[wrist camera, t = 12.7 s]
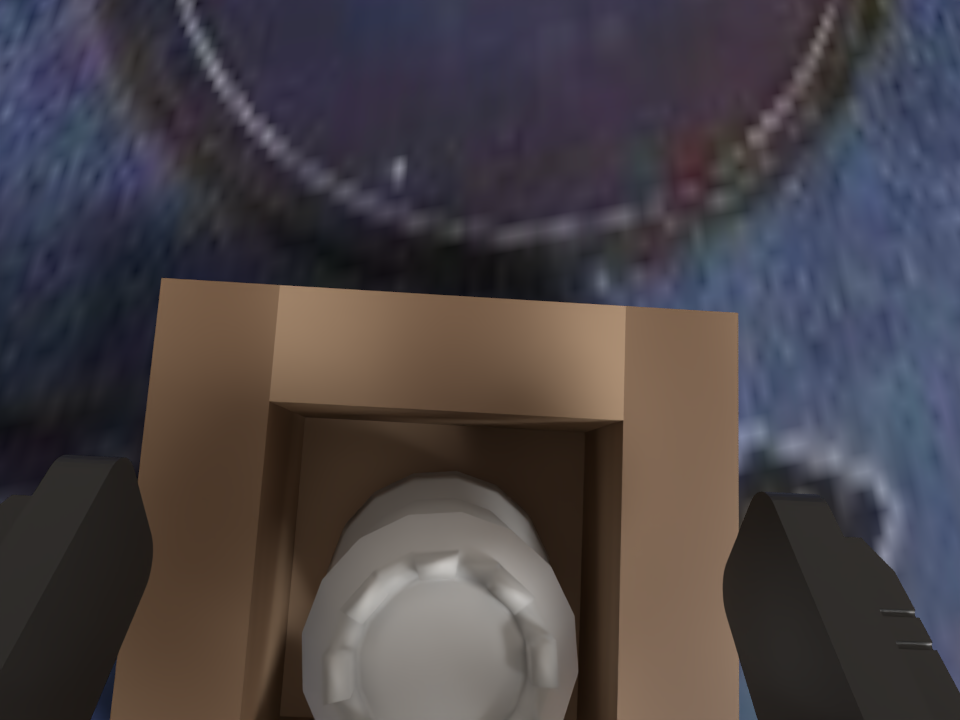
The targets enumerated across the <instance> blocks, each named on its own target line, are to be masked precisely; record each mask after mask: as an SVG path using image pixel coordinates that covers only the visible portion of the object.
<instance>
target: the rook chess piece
mask: <svg viewBox="0 0 960 720" xmlns="http://www.w3.org/2000/svg"><path fill="white" fill-rule="evenodd" d="M577 675H578V659H577V645H576V630H575V616H574V614H573V612H572V610H571V607H570V605H569V603H568V601H567V599H566V597H565V595H564V593H563V591H562V588H561V586H560V584H559V582H558V580H557V578H556V576H555V574H554V572H553V570H552V567H551V566H550V561H549V557H548V555H547V553H546V550H545V548H544V546H543V544H542V542H541V540H540V538H539V536H538V534H537V531H536V529H535V527H534V525H533V523H532V521H531V519H530V517H529V515H528V514H527V513H526V512H525V511H524V510H523V509H522V508H521V507H520V506H518V505H517V504H516V503H515V502H514V501H513V500H512V499H511V498H510V497H509V496H507V495H506V494H505V493H504V492H503V491H502V490H501V489H500V488H499V487H498V486H497V485H494V484H491V483H488V482H486V481H483V480H480V479H477V478H475V477H472V476H469V475H466V474H463V473H461V472H458V471H448V472H428V473H414V474H411V475H409V476H407V477H405V478H403V479H401V480H399V481H397V482H395V483H393V484H390V485H388V486H386V487H384V488H382V489H380V490H378V491H376V492H375V493H374V494H373V495H372V496H371V497H370V498H369V499H368V500H367V501H366V502H365V503H364V505H363V506H362V507H361V508H360V509H359V510H358V511H357V512H356V513H355V514H354V515H353V517H352V518H351V519H350V520H349V521H348V522H347V523H346V524H345V527H344V528H343V530H342V533H341V536H340V538H339V541H338V544H337V546H336V549H335V552H334V554H333V557H332V560H331V562H330V565H329V567H328V570H327V575H326V576H325V577H324V578H323V579H322V581H321V584H320V586H319V589H318V592H317V594H316V597H315V600H314V602H313V605H312V608H311V610H310V613H309V616H308V618H307V621H306V624H305V626H304V629H303V631H302V678H303V693H304V695H305V698H306V700H307V702H308V705H309V707H310V709H311V712H312V714H313V716H314V719H315V720H564V716H565V713H566V710H567V707H568V704H569V701H570V697H571V694H572V691H573V688H574V685H575V682H576V678H577Z"/></svg>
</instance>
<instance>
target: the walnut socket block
mask: <svg viewBox="0 0 960 720" xmlns="http://www.w3.org/2000/svg"><path fill="white" fill-rule="evenodd" d="M448 471H458V472H461V473H463V474H466V475H469V476H472V477H475V478H477V479H480V480H483V481H486V482H488V483H491V484H494V485H497V486H498V487H499V488H500V489H501V490H502V491H503V492H504V493H505V494H506V495H507V496H509V497H510V498H511V499H512V500H513V501H514V502H515V503H516V504H517V505H518V506H520V507H521V508H522V509H523V510H524V511H525V512H526V513H527V514H528V515H529V517H530V519H531V521H532V523H533V525H534V527H535V529H536V531H537V534H538V536H539V538H540V540H541V542H542V544H543V546H544V548H545V550H546V553H547V555H548V557H549V561H550V566H551V567H552V570H553V572H554V574H555V576H556V578H557V580H558V582H559V584H560V586H561V588H562V591H563V593H564V595H565V597H566V599H567V601H568V603H569V605H570V607H571V610H572V612H573V614H574V616H575V630H576V645H577V659H578V675H577V678H576V682H575V685H574V688H573V691H572V694H571V697H570V701H569V704H568V707H567V710H566V713H565V716H564V720H739V656H738V653H737V649H736V646H735V643H734V640H733V636H732V633H731V630H730V626H729V623H728V620H727V616H726V613H725V608H724V602H723V574H724V569H725V566H726V563H727V560H728V558H729V555H730V553H731V550H732V548H733V545H734V543H735V540H736V538H737V535H738V533H739V509H738V313H730V312H713V311H697V310H680V309H664V308H647V307H631V306H615V305H598V304H582V303H565V302H549V301H532V300H516V299H500V298H483V297H467V296H450V295H434V294H417V293H401V292H385V291H368V290H352V289H335V288H319V287H302V286H286V285H270V284H253V283H237V282H220V281H204V280H187V279H171V278H162V279H161V287H160V296H159V304H158V313H157V321H156V330H155V338H154V347H153V356H152V364H151V373H150V381H149V390H148V398H147V407H146V416H145V424H144V433H143V441H142V450H141V458H140V467H139V475H138V485H139V489H140V493H141V497H142V500H143V504H144V508H145V512H146V515H147V519H148V523H149V527H150V530H151V534H152V539H153V560H152V567H151V572H150V576H149V580H148V583H147V586H146V588H145V591H144V593H143V596H142V598H141V600H140V603H139V605H138V607H137V610H136V612H135V615H134V617H133V619H132V622H131V624H130V627H129V629H128V631H127V634H126V636H125V638H124V641H123V643H122V646H121V648H120V650H119V653H118V655H117V664H116V672H115V681H114V689H113V698H112V707H111V715H110V720H315V719H314V716H313V714H312V712H311V709H310V707H309V705H308V702H307V700H306V698H305V695H304V693H303V678H302V631H303V629H304V626H305V624H306V621H307V618H308V616H309V613H310V610H311V608H312V605H313V602H314V600H315V597H316V594H317V592H318V589H319V586H320V584H321V581H322V579H323V578H324V577H325V576H326V575H327V570H328V567H329V565H330V562H331V560H332V557H333V554H334V552H335V549H336V546H337V544H338V541H339V538H340V536H341V533H342V530H343V528H344V527H345V524H346V523H347V522H348V521H349V520H350V519H351V518H352V517H353V515H354V514H355V513H356V512H357V511H358V510H359V509H360V508H361V507H362V506H363V505H364V503H365V502H366V501H367V500H368V499H369V498H370V497H371V496H372V495H373V494H374V493H375V492H376V491H378V490H380V489H382V488H384V487H386V486H388V485H390V484H393V483H395V482H397V481H399V480H401V479H403V478H405V477H407V476H409V475H411V474H414V473H428V472H448Z"/></svg>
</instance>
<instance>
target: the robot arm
mask: <svg viewBox="0 0 960 720" xmlns="http://www.w3.org/2000/svg"><path fill="white" fill-rule="evenodd" d="M152 560H153V539H152V534H151V530H150V527H149V523H148V519H147V515H146V512H145V508H144V504H143V500H142V497H141V493H140V489H139V485H138V482H137V478H136V474H135V470H134V467H133V465H132V463H131V461H130V460H129V459H127V458H123V457H103V456H83V455H62V456H60V457H59V458H57V459H56V460H55V461H54V463H53V464H52V465H51V467H50V468H49V470H48V471H47V473H46V475H45V476H44V478H43V479H42V481H41V482H40V484H39V486H38V487H37V489H36V490H35V492H34V493H33V495H32V496H27V495H11V496H10V497H9V498H8V499H6V500H5V501H4V502H2V503H1V504H0V720H90V719H91V717H92V715H93V712H94V710H95V707H96V705H97V703H98V700H99V698H100V696H101V693H102V691H103V688H104V686H105V684H106V681H107V679H108V677H109V674H110V672H111V669H112V667H113V665H114V662H115V660H116V657H117V655H118V653H119V650H120V648H121V646H122V643H123V641H124V638H125V636H126V634H127V631H128V629H129V627H130V624H131V622H132V619H133V617H134V615H135V612H136V610H137V607H138V605H139V603H140V600H141V598H142V596H143V593H144V591H145V588H146V586H147V583H148V580H149V576H150V572H151V567H152ZM723 602H724V608H725V613H726V616H727V620H728V623H729V626H730V630H731V633H732V636H733V640H734V643H735V646H736V649H737V653H738V656H739V659H740V663H741V666H742V669H743V673H744V676H745V679H746V682H747V686H748V689H749V692H750V696H751V699H752V702H753V706H754V709H755V712H756V715H757V719H758V720H960V693H959V691H958V689H957V687H956V685H955V683H954V681H953V680H952V678H951V676H950V674H949V672H948V670H947V668H946V666H945V665H944V663H943V661H942V659H941V657H940V655H939V653H938V652H937V650H933V649H932V640H931V639H930V637H929V635H928V633H927V631H926V629H925V627H924V626H923V624H922V622H921V620H920V618H916V617H915V609H914V607H913V605H912V603H911V601H910V599H909V598H908V596H907V594H906V592H905V590H904V588H903V586H902V585H901V583H900V581H899V579H898V577H897V575H896V573H895V572H894V571H893V570H892V569H891V568H890V567H889V566H888V565H887V564H886V563H885V562H884V561H883V560H882V559H881V558H880V557H879V556H878V555H877V553H876V552H875V551H874V550H873V549H872V548H871V547H870V546H869V545H868V544H867V543H866V542H865V541H864V540H863V539H862V538H854V537H844V536H843V534H842V532H841V530H840V528H839V526H838V524H837V522H836V520H835V518H834V516H833V514H832V512H831V510H830V508H829V506H828V504H827V503H826V501H825V500H824V499H823V498H822V497H821V496H819V495H814V494H794V493H775V492H759V493H757V494H756V495H755V496H754V497H753V499H752V501H751V503H750V505H749V508H748V510H747V513H746V515H745V518H744V520H743V523H742V525H741V528H740V530H739V533H738V535H737V538H736V540H735V543H734V545H733V548H732V550H731V553H730V555H729V558H728V560H727V563H726V566H725V569H724V574H723Z"/></svg>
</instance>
